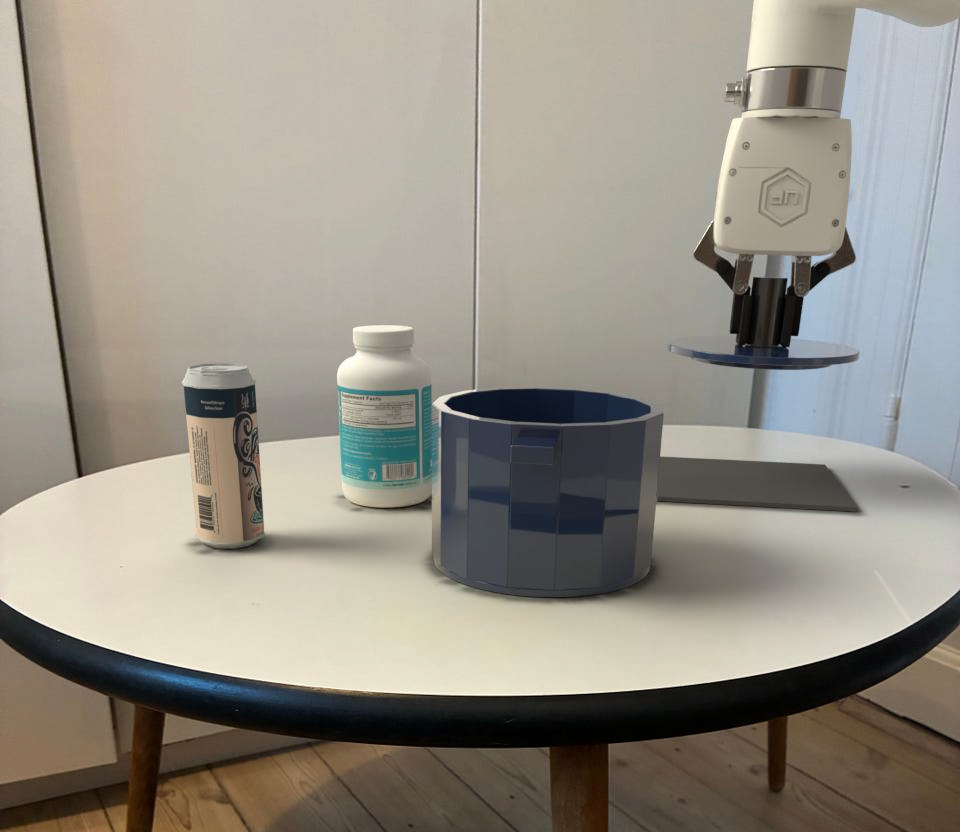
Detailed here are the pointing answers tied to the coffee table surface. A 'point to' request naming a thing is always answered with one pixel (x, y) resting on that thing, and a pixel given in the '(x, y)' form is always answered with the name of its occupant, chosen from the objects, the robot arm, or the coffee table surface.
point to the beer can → (224, 454)
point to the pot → (544, 489)
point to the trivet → (751, 484)
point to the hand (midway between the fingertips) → (762, 342)
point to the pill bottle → (385, 419)
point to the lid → (764, 339)
